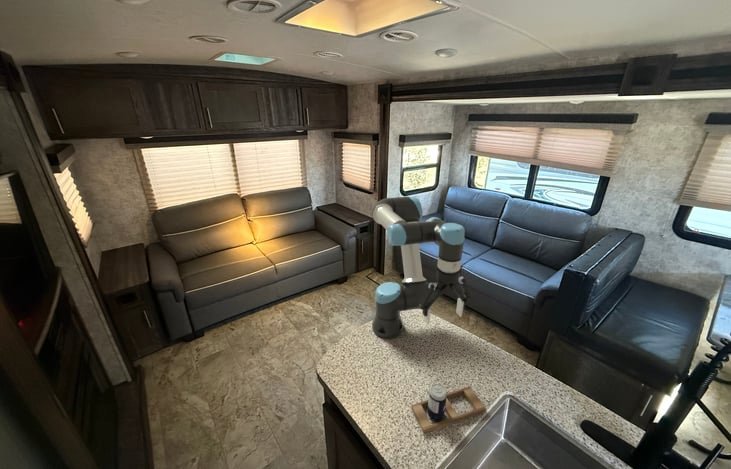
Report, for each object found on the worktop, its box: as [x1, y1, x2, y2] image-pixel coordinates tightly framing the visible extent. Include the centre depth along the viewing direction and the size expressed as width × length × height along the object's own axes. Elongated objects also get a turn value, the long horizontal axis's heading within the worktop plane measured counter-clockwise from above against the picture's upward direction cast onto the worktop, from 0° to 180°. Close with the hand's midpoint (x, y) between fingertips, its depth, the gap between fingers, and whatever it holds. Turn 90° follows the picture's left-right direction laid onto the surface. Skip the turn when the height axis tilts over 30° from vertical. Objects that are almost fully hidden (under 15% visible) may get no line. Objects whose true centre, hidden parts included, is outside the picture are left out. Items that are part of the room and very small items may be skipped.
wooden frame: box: [410, 386, 487, 435], centre depth 99 cm, size 9×24×2 cm, turn 107°
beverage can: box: [426, 383, 448, 422], centre depth 96 cm, size 6×6×12 cm
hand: (442, 318), depth 105 cm, fingers open, 13 cm apart
